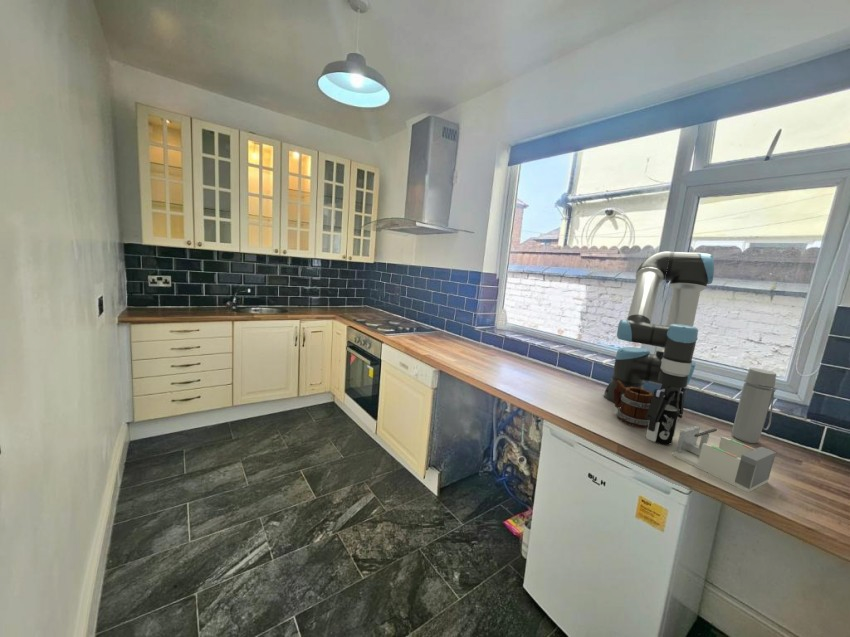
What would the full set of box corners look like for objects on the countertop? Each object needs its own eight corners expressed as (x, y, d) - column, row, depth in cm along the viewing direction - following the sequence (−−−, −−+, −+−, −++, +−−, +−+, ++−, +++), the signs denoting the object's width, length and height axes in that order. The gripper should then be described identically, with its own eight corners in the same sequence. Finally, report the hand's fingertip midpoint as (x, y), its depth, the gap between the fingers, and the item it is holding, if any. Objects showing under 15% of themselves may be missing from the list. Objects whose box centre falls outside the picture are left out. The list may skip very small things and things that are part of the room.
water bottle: (736, 441, 116) (754, 371, 112) (726, 431, 124) (742, 365, 119) (771, 448, 113) (790, 377, 109) (758, 438, 120) (776, 370, 116)
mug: (642, 431, 117) (642, 388, 117) (604, 420, 130) (604, 381, 130) (661, 426, 122) (662, 385, 122) (623, 416, 135) (623, 378, 135)
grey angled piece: (693, 444, 109) (699, 422, 107) (720, 456, 102) (726, 433, 101) (673, 451, 103) (678, 427, 102) (700, 464, 97) (706, 439, 96)
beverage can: (650, 442, 110) (657, 408, 108) (645, 433, 116) (652, 400, 114) (674, 447, 108) (682, 412, 106) (667, 438, 114) (675, 405, 112)
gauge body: (692, 448, 109) (699, 422, 107) (767, 482, 93) (776, 452, 92) (672, 455, 103) (678, 427, 102) (748, 492, 88) (756, 460, 86)
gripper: (680, 366, 117) (666, 426, 120) (641, 371, 106) (628, 436, 110) (705, 373, 110) (690, 436, 114) (666, 379, 100) (652, 448, 103)
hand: (660, 436), depth 112 cm, fingers open, 10 cm apart
